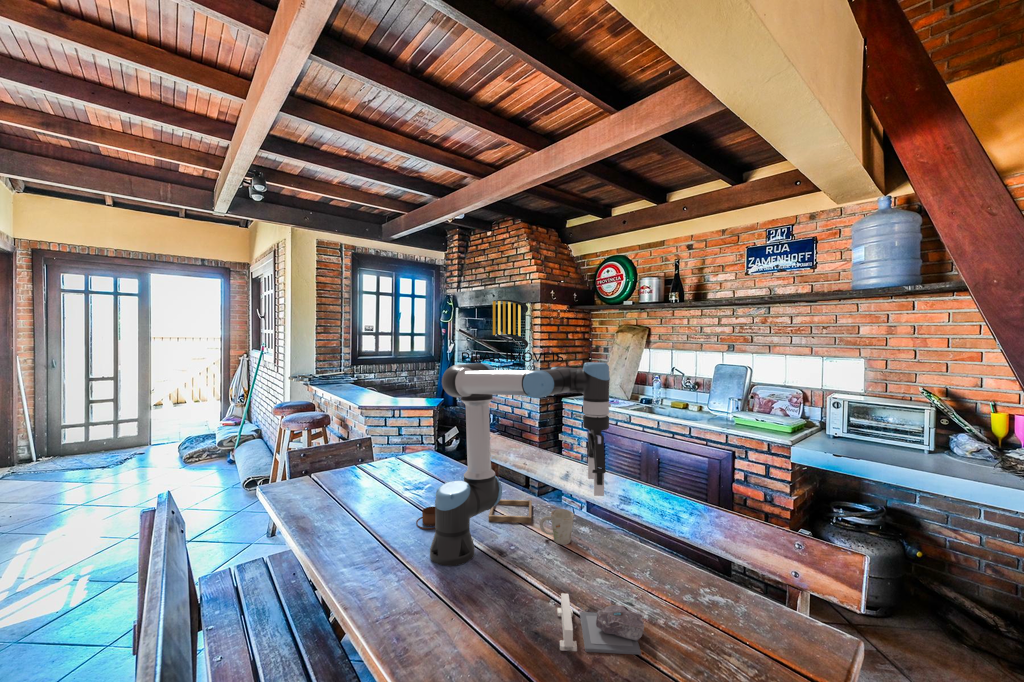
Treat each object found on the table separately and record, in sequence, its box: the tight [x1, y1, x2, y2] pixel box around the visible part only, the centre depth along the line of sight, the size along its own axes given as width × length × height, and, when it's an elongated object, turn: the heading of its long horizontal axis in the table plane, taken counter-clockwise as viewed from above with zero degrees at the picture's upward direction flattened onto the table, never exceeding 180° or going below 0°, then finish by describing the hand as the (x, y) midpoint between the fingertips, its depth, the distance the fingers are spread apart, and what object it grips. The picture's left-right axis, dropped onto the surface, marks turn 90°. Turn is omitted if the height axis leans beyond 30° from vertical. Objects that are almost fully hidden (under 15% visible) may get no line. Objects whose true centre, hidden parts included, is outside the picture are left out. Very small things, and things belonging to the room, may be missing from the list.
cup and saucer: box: [415, 506, 435, 531], centre depth 163 cm, size 12×12×6 cm
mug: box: [539, 508, 575, 545], centre depth 152 cm, size 8×13×10 cm, turn 78°
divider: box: [556, 592, 578, 652], centre depth 105 cm, size 4×14×5 cm, turn 176°
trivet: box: [579, 611, 642, 656], centre depth 104 cm, size 13×13×1 cm
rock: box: [596, 604, 645, 641], centre depth 104 cm, size 8×11×5 cm
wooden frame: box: [488, 498, 533, 524], centre depth 173 cm, size 17×17×3 cm
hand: (595, 486), depth 122 cm, fingers open, 13 cm apart
